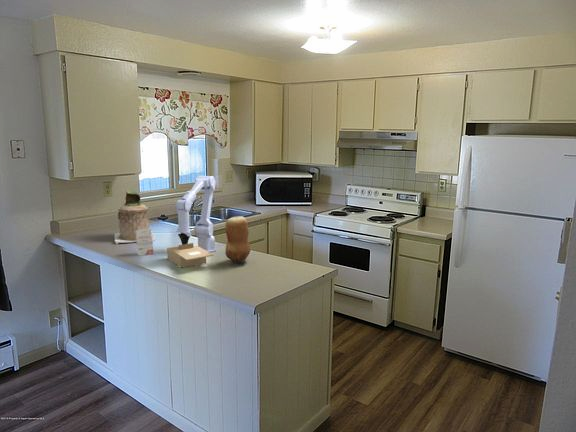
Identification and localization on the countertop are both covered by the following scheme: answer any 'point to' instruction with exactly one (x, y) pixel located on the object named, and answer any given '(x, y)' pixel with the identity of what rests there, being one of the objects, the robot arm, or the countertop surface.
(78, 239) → the countertop surface
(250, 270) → the countertop surface
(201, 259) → the mailer box
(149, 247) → the ink cartridge box
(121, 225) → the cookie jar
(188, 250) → the mailer lid
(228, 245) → the butternut squash
